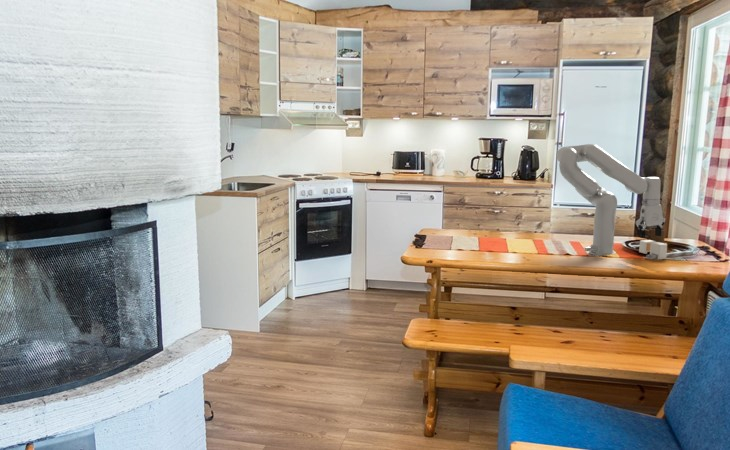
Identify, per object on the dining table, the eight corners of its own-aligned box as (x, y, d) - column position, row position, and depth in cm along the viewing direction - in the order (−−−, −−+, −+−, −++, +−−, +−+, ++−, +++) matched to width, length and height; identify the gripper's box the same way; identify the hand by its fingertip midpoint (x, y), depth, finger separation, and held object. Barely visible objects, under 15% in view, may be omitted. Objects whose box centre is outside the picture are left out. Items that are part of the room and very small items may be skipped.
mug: (642, 247, 300) (643, 230, 298) (637, 244, 307) (638, 227, 306) (666, 248, 298) (667, 230, 297) (660, 245, 306) (661, 227, 304)
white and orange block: (655, 255, 282) (656, 241, 281) (645, 256, 280) (646, 242, 279) (648, 253, 286) (649, 239, 285) (638, 254, 285) (639, 240, 284)
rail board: (653, 262, 267) (653, 256, 267) (641, 259, 274) (642, 253, 273) (696, 258, 275) (697, 252, 274) (684, 255, 281) (685, 249, 281)
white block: (659, 259, 269) (660, 244, 267) (649, 256, 274) (650, 242, 273) (667, 258, 270) (668, 244, 269) (657, 255, 276) (658, 241, 274)
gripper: (642, 204, 273) (641, 239, 276) (671, 201, 278) (670, 236, 281) (631, 203, 280) (630, 237, 283) (659, 200, 285) (658, 233, 288)
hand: (650, 236), depth 282 cm, fingers open, 9 cm apart
